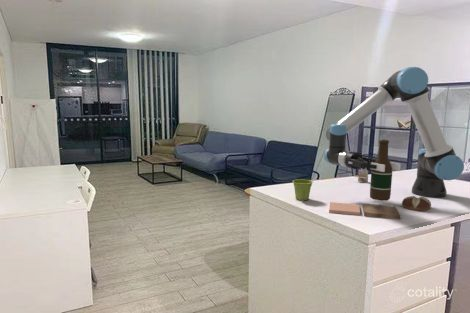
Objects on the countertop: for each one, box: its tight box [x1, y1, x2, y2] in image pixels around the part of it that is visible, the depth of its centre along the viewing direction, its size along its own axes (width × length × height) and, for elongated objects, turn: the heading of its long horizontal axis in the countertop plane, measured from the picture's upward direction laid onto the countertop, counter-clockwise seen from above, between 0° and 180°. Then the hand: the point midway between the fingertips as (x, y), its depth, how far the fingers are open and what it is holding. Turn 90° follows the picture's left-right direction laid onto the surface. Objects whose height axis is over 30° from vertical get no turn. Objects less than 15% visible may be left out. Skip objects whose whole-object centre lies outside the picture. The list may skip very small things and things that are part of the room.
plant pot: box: [292, 178, 314, 202], centre depth 155 cm, size 9×9×9 cm
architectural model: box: [353, 169, 369, 183], centre depth 194 cm, size 3×7×7 cm, turn 52°
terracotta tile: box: [328, 201, 361, 216], centre depth 138 cm, size 12×12×1 cm
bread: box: [401, 195, 432, 212], centre depth 142 cm, size 11×11×5 cm
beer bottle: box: [369, 139, 393, 202], centre depth 132 cm, size 8×8×24 cm
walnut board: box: [361, 203, 401, 220], centre depth 134 cm, size 13×13×2 cm
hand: (392, 167), depth 127 cm, fingers closed on beer bottle, 7 cm apart
